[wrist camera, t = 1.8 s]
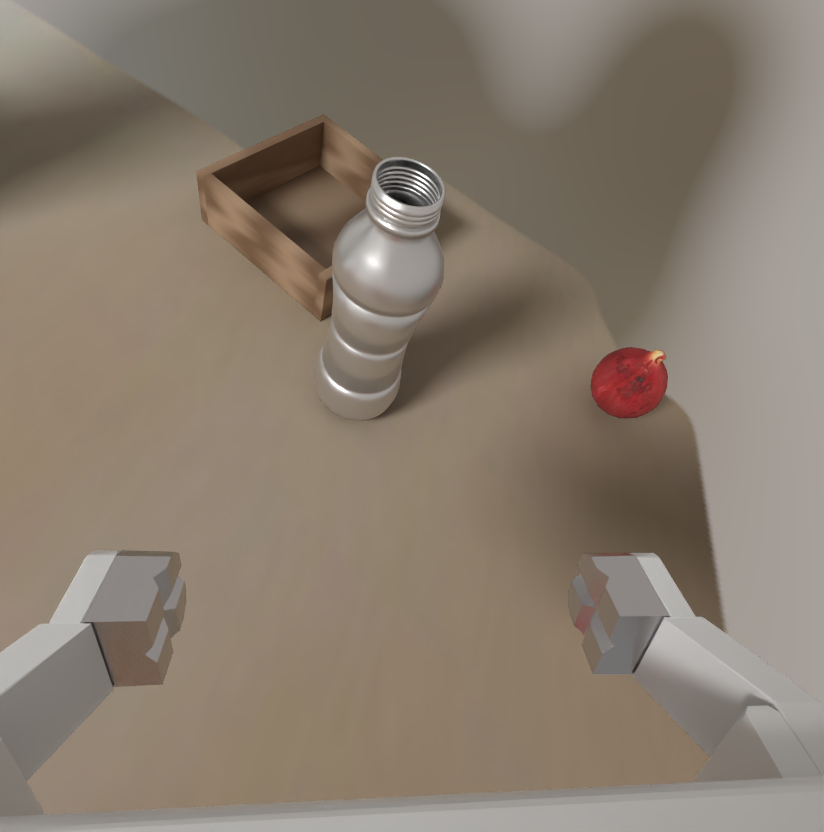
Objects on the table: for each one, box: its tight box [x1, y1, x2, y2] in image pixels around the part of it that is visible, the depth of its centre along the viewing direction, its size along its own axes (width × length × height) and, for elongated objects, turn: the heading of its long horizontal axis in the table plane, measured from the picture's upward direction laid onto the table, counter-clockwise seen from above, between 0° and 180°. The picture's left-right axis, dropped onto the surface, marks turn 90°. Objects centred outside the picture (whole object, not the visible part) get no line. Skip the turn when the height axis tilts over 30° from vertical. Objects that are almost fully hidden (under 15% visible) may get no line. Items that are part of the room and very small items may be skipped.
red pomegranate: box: [591, 347, 668, 418], centre depth 45 cm, size 6×6×8 cm
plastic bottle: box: [314, 157, 445, 420], centre depth 35 cm, size 6×7×20 cm
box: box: [196, 114, 382, 321], centre depth 49 cm, size 15×15×5 cm
